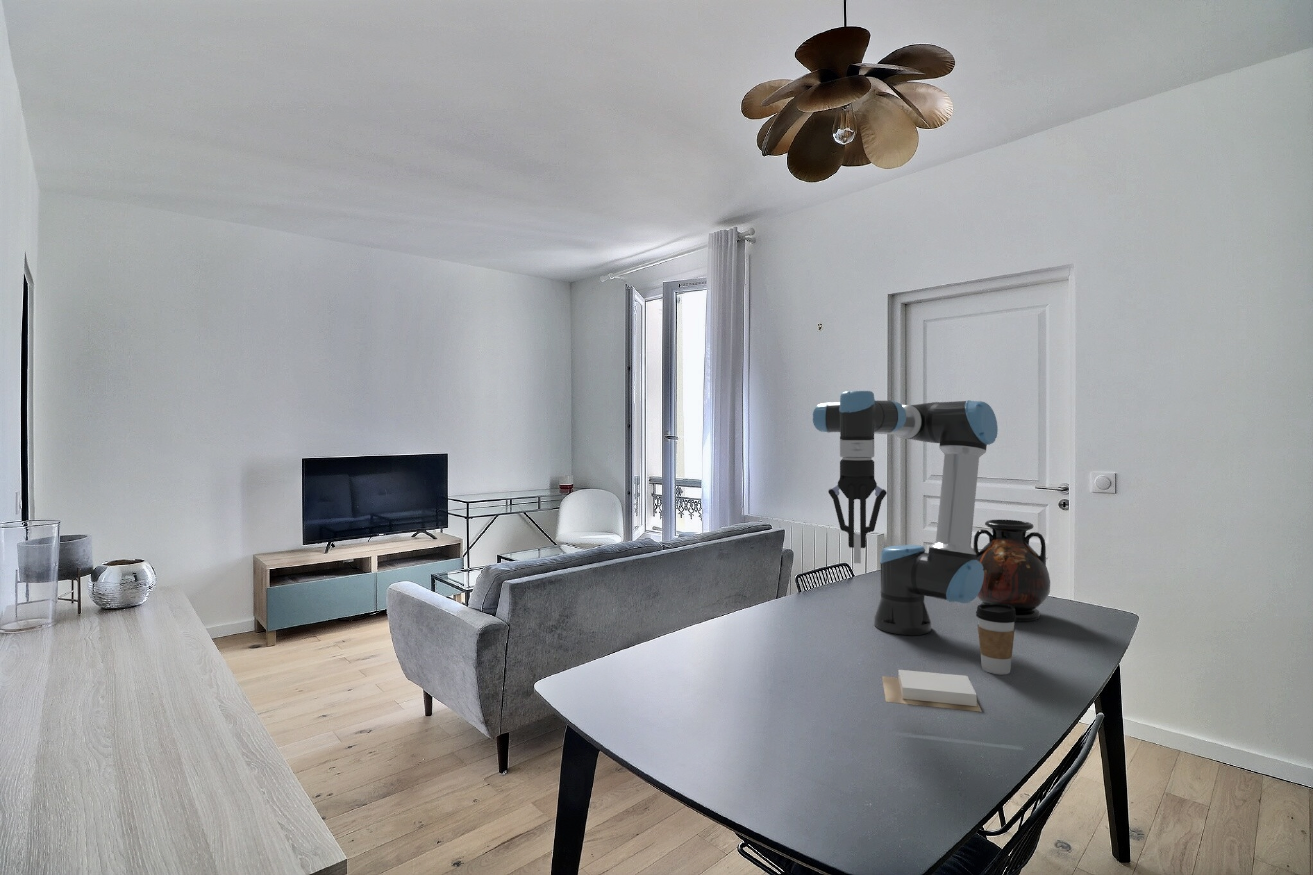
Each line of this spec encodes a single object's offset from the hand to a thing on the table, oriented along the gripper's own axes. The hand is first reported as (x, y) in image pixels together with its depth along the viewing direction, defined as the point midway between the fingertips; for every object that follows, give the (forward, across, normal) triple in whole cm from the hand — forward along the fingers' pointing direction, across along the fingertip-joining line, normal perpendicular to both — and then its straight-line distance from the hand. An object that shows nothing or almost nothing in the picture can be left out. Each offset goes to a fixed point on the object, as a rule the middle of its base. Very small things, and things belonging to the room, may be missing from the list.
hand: (857, 561), depth 147 cm
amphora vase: (+27, +45, +62) cm, 81 cm away
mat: (+26, +14, -7) cm, 31 cm away
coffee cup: (+27, +31, +13) cm, 43 cm away
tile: (+24, +9, -7) cm, 27 cm away
